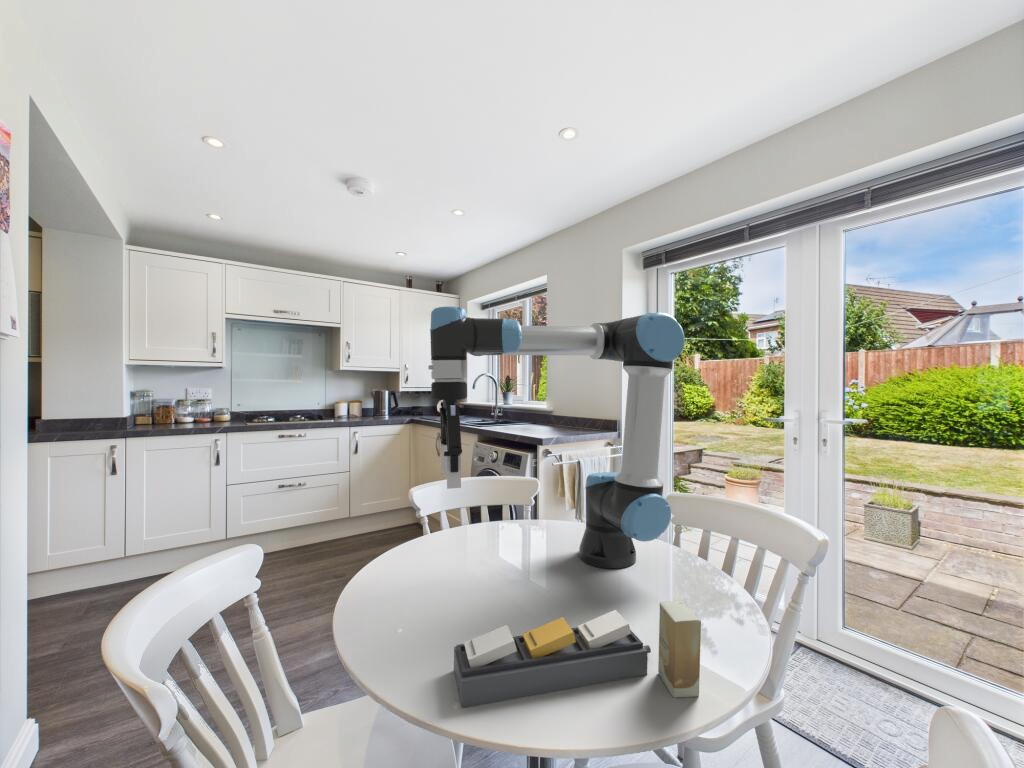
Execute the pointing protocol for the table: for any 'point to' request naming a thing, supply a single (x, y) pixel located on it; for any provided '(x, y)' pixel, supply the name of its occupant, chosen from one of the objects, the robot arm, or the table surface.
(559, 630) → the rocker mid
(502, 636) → the rocker
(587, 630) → the block
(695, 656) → the skincare box
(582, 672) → the power strip
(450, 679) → the table surface
